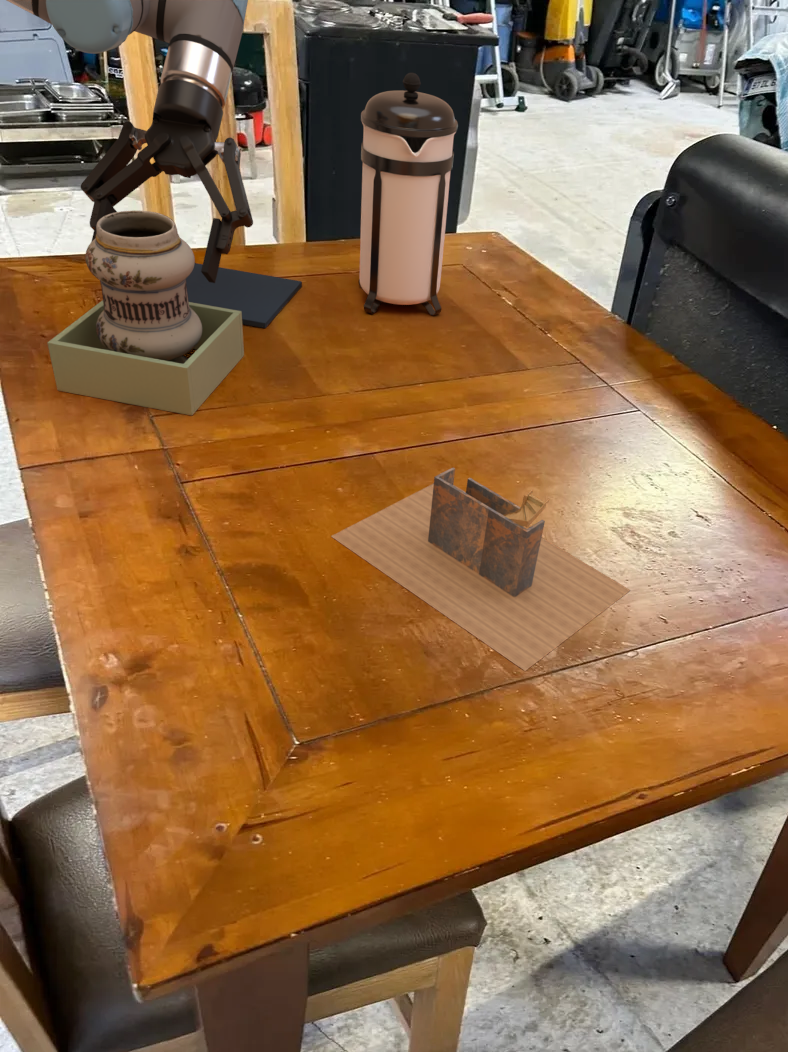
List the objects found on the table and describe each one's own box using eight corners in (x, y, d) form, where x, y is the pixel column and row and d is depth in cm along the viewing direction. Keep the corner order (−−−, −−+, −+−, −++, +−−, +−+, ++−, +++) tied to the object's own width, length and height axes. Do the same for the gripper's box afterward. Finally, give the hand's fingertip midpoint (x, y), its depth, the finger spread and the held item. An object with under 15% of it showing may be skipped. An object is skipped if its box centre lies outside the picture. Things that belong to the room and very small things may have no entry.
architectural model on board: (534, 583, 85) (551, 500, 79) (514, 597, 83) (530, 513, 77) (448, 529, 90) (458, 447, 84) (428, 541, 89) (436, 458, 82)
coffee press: (472, 303, 135) (498, 79, 115) (401, 330, 125) (416, 91, 106) (390, 267, 143) (401, 52, 123) (316, 290, 133) (316, 61, 113)
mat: (127, 304, 123) (126, 298, 123) (176, 264, 135) (175, 259, 135) (265, 328, 121) (265, 322, 121) (302, 286, 134) (302, 281, 133)
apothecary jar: (121, 403, 103) (96, 247, 91) (91, 359, 110) (64, 209, 98) (221, 385, 108) (209, 235, 97) (185, 344, 116) (170, 200, 104)
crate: (57, 390, 104) (46, 342, 100) (123, 333, 116) (116, 288, 112) (192, 415, 102) (187, 368, 98) (244, 355, 115) (241, 311, 111)
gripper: (301, 132, 107) (264, 299, 106) (106, 102, 109) (67, 265, 108) (285, 92, 100) (245, 270, 98) (77, 60, 102) (34, 235, 100)
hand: (152, 268), depth 103 cm, fingers open, 13 cm apart
